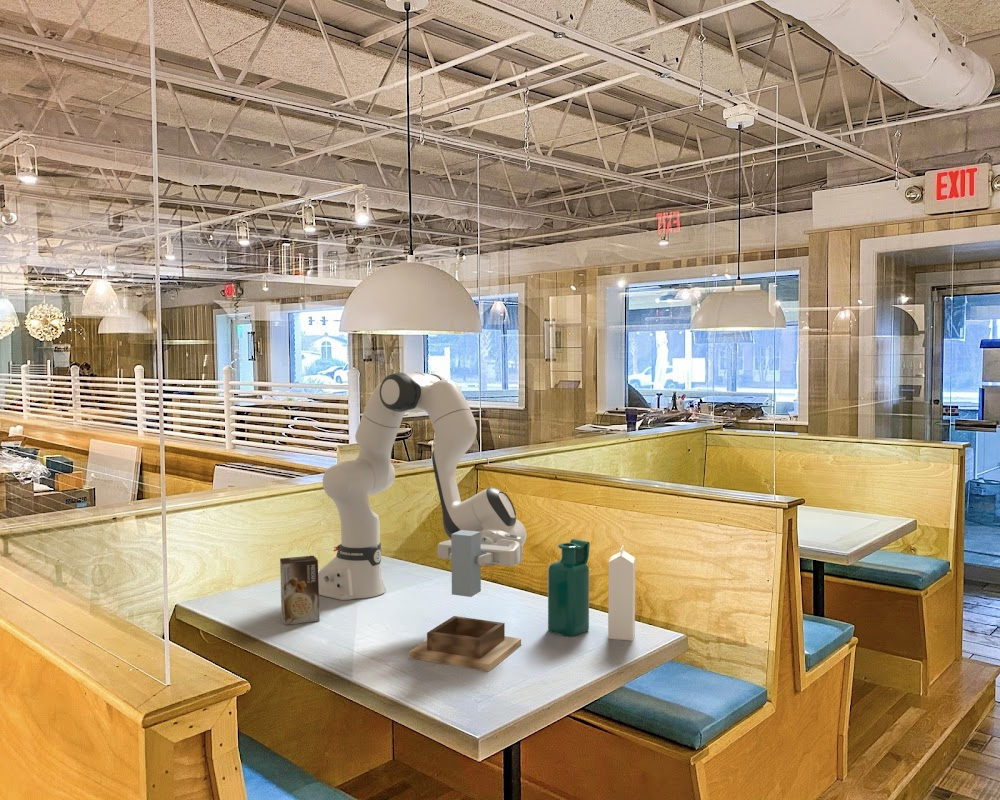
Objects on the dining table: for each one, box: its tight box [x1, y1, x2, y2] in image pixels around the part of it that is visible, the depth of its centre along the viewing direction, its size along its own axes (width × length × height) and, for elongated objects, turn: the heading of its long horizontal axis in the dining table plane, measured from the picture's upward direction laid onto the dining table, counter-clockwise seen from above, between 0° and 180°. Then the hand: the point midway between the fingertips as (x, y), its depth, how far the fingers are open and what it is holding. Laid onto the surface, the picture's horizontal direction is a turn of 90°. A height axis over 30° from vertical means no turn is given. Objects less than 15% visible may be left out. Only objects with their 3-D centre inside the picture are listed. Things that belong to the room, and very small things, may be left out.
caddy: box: [408, 615, 522, 672], centre depth 187 cm, size 20×18×6 cm
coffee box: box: [279, 555, 321, 626], centre depth 210 cm, size 9×6×16 cm
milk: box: [607, 545, 636, 641], centre depth 197 cm, size 6×6×22 cm
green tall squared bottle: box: [547, 538, 590, 638], centre depth 201 cm, size 10×8×22 cm
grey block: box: [450, 530, 482, 598], centre depth 186 cm, size 5×5×14 cm
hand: (464, 559), depth 185 cm, fingers closed on grey block, 5 cm apart
